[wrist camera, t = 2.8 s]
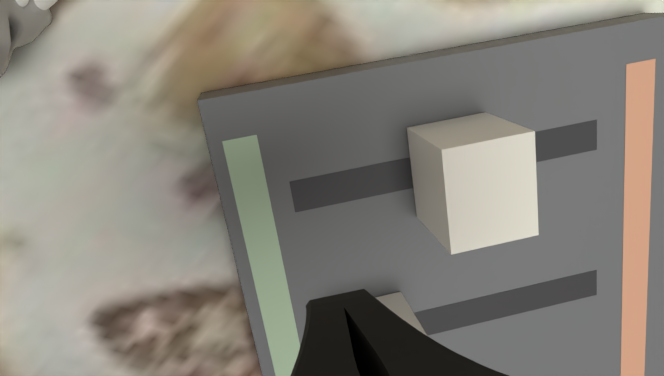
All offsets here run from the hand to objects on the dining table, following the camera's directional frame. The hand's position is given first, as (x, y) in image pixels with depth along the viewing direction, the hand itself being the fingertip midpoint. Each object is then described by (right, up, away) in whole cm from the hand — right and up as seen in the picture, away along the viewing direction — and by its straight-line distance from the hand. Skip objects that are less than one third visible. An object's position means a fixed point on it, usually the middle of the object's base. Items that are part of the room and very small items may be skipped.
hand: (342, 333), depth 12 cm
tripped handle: (+4, +4, +8) cm, 10 cm away
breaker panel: (+5, -1, +12) cm, 13 cm away
